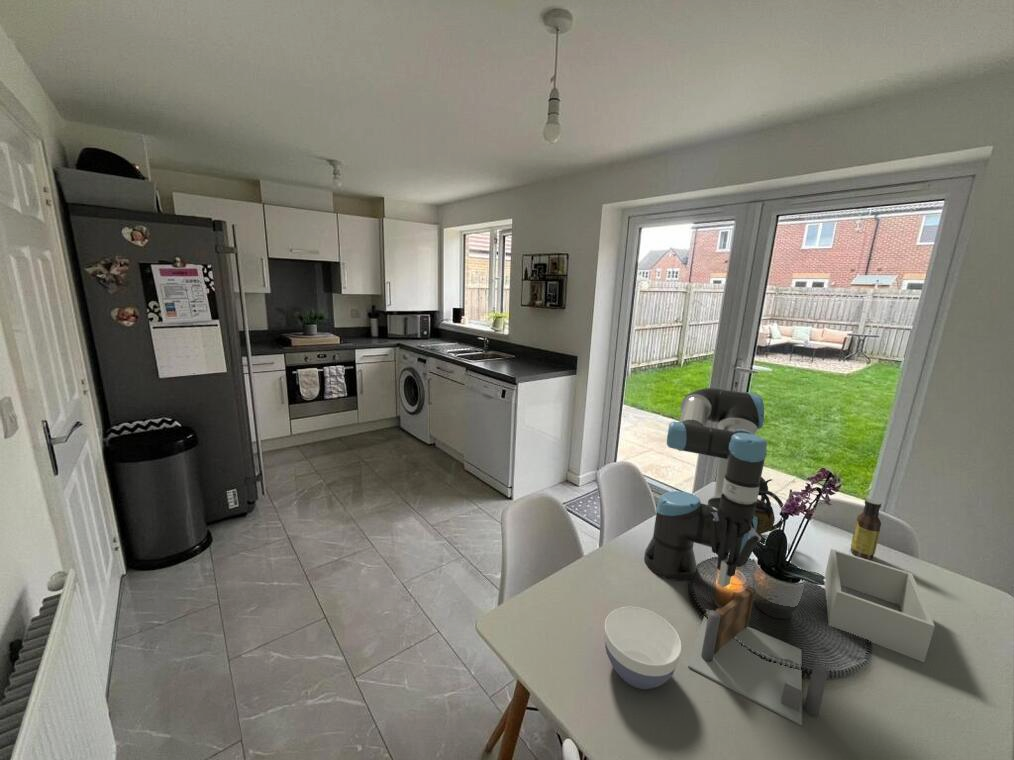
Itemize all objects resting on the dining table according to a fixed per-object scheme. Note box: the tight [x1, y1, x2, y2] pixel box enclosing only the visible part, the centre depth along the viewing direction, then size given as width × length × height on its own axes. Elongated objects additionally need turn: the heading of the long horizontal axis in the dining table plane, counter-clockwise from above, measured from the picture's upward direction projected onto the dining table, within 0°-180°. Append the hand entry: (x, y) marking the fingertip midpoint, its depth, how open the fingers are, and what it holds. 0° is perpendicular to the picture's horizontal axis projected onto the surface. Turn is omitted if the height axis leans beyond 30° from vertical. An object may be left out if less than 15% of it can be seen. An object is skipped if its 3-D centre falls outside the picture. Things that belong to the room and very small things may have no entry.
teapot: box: [754, 476, 784, 545], centre depth 143 cm, size 12×25×23 cm, turn 107°
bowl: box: [603, 606, 683, 690], centre depth 90 cm, size 16×16×10 cm
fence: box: [687, 608, 829, 726], centre depth 93 cm, size 24×22×12 cm
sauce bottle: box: [849, 498, 882, 561], centre depth 138 cm, size 6×6×20 cm
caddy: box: [824, 548, 936, 663], centre depth 111 cm, size 18×24×10 cm
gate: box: [714, 585, 756, 654], centre depth 99 cm, size 16×2×10 cm, turn 125°
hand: (723, 584), depth 103 cm, fingers closed
